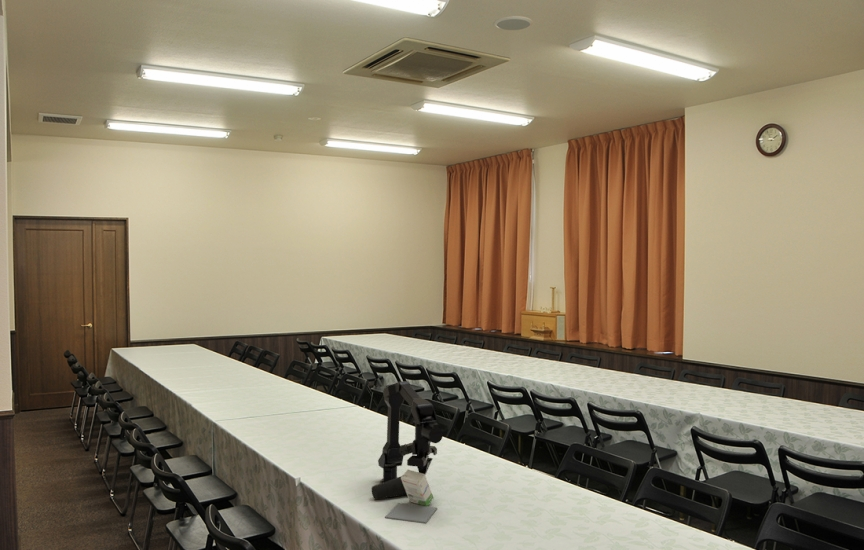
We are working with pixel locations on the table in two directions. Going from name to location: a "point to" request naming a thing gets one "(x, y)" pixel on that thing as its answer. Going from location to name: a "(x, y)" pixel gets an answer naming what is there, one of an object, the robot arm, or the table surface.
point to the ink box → (417, 487)
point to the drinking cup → (389, 489)
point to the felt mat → (411, 513)
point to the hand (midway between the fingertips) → (422, 478)
